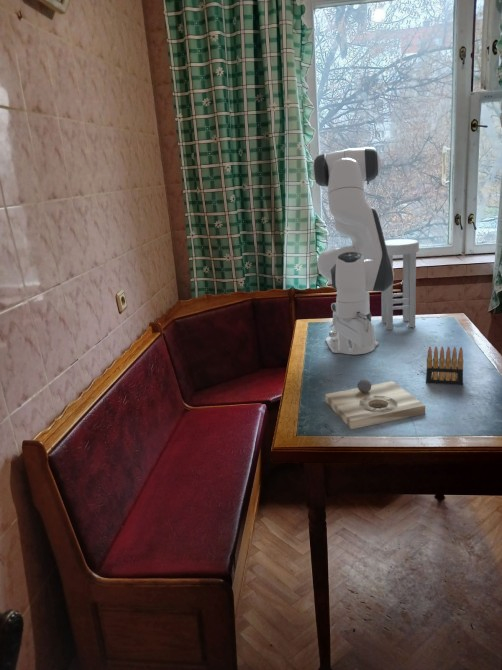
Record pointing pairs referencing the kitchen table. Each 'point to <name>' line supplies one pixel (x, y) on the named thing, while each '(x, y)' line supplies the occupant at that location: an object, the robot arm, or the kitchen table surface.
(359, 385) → the ball
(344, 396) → the board
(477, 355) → the kitchen table surface
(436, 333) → the kitchen table surface
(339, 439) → the kitchen table surface
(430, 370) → the ammunition clip
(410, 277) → the stool
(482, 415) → the kitchen table surface
